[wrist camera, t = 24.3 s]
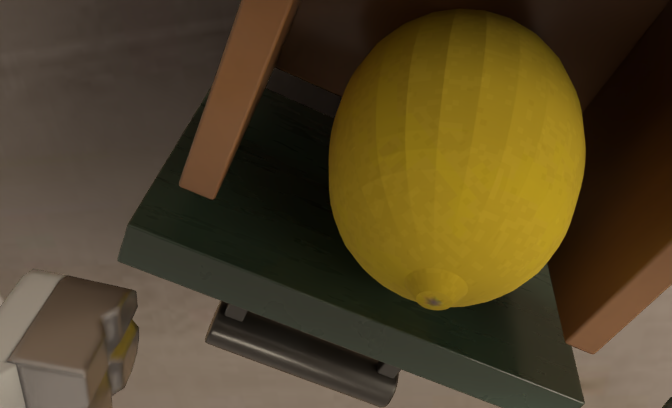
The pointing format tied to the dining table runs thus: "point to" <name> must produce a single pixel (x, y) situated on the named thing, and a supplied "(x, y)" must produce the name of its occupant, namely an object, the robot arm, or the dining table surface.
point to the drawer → (339, 264)
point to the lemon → (456, 158)
